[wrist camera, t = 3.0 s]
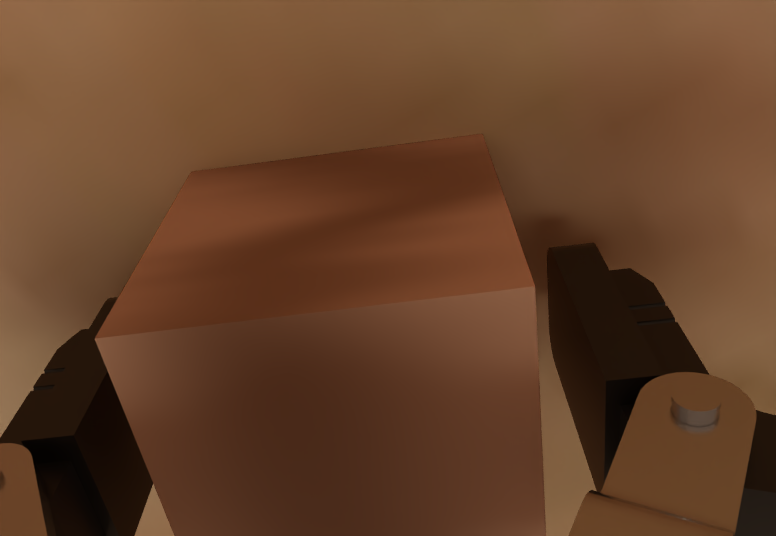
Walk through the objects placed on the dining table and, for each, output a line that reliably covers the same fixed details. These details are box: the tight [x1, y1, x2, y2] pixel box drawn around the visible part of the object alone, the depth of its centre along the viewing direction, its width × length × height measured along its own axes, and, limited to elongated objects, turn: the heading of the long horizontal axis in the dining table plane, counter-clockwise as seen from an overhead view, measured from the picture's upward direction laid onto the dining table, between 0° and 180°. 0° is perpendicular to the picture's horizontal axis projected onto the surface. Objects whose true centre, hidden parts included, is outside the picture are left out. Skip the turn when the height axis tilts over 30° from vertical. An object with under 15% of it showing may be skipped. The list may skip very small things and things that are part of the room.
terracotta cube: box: [95, 134, 546, 536], centre depth 12 cm, size 5×5×5 cm
